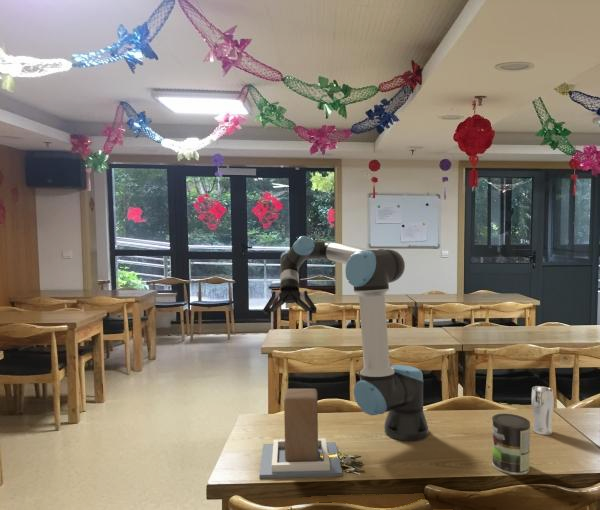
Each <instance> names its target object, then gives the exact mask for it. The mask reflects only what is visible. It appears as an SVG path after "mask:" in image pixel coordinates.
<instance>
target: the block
mask: <svg viewBox="0 0 600 510" xmlns="http://www.w3.org/2000/svg"><path fill="white" fill-rule="evenodd" d="M283 405H284V406H283V407H284V409H283V411H284V413H283V414H284V439H285V460H286V462H317V460H318V439H319V417H318V413H319V412H318V411H319V409H318V391H317V388H287V389H286V392H285V395H284V400H283Z"/></svg>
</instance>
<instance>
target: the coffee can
mask: <svg viewBox="0 0 600 510" xmlns="http://www.w3.org/2000/svg"><path fill="white" fill-rule="evenodd" d="M491 419H492V457H491V458H492V462H491V464H492V466H493V467H494V468H495V469H497V470H498V471H500V472H502V473H505V474H508V475H514V476H523V475H526V474H527V473H529V472H530V445H531V444H530V441H531V440H530V438H531V437H530V435H531V434H530V433H531V432H530V431H531V422H530V421H529V419H527V418H526V417H524V416H522V415H519V414H518V415H517V414H513V413H498V414H495V415H493V416H492V418H491Z"/></svg>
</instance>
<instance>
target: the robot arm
mask: <svg viewBox="0 0 600 510" xmlns="http://www.w3.org/2000/svg"><path fill="white" fill-rule="evenodd" d="M306 260H307V261H310V260H326V261H327V260H328V261H333V262H336V263H340V264H343V265H345V269H344V270H345V271H344V272H345V278H346V280H347V281H348V284H350V285H351V286H353V292H354V293H356V295H357V296H358V300H359V301H358V303H359V317H360V327H361V329H360V330H361V331H360V332H361V346H362V347H361V348H362V359H363V367H362V369H361V370H360V371H359V379H360V380H359V381H357V382H356V383H355V385H354V387H353V396H354V399H355V403H356V404H357V406H358V407H359V408H360V410H361V411H363V412H364V413H365V414H367V415H369V416H377V415H383V414H385V413H387V416H386V417H385V421H384V425H383V427H384V433H385V434H386V435H388V437H390V438H392V439H395V440H399V441H404V442H405V441H407V442H415V441H421V440H424V439H426V438H427V437H428V436H429V425H428V422H427V418H426V416H425V413H424V376H423V375H424V374H423V371H422V370H421V369H419V368H417V367H414V366H411V365H404V364H391V365H390V352H389V351H390V350H389V348H390V347H389V339H388V337H389V336H388V335H389V334H388V324H387V310H386V297H385V296H386V294H387V292H388V291H389V290H390V289H389V288H390V286H389V285H390V284H389V283H394V282H396V281H397V280H399V279H400V278H401V277H402V276H403V275H404V272H405V268H406V266H405V264H406V263H405V260H404V258H403V256H402V255H401V254H400V253H399V252H398V251H396V250H393V249H384V248H378V249H369V248H364V247H359V246H353V245H348V244H344V243H338V242H336V241H335V240H313V239H312V238H311V237H308V236H306V235H301V236H299V238H297V240H295V241H294V243H293V245H292V246H291V248H290V249H289V250H288V249H287V250H285V251H283V252H282V253H281V254H280V260H279V265H280V276H279V278H280V280H279V281H280V282H279V283H280V284H279V285H280V286H279V290H280V292H276V291H272V293H271V296H270V298H269V299H268V300H267V303H266V305H265V306H264V307H263V314H264V315H267V321H268V322H270V330H271V331H274V313H275V312H276V311H277V310H279V308H280V307H281V306H283V305H284V304H287V305H288V304H293V305H294V304H296V305H298V306H299V307H300V308H301V309H302V310H304V311H305V312H306V324H307V330H310V328H311V327H310V322H312V321H313V314H316V313H317V306H316V305H315V304H314V302H313V301H312V299H311V298H310V296H309V294H308V291H307V290H304V291H303V292H300V278H299V277H300V276H299V271H300V267H301V266H302V265H303V263H305V261H306ZM278 297H279V298H278ZM301 297H302V298H303V299H304V300H305V302H304V300H302V299H301ZM277 299H278V300H277ZM276 300H277V301H276ZM275 301H276V302H275Z"/></svg>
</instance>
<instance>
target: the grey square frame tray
mask: <svg viewBox="0 0 600 510" xmlns="http://www.w3.org/2000/svg"><path fill="white" fill-rule="evenodd" d="M261 453H262V454H261V459H260V468H259V479H281V478H318V477H319V478H321V477H343V469H342V465H341V460H340V457H339V458H334V459H333V458H331V459H329V456H328V453H330V454H334V453H338V454H339V450H338V446H337V443H336V441H330V442H329V441H328V442H327V440H326V438H325V437H322V438H318V460H317V462H286V460H285V438H284V439H281V438H280V439H273V443H263V445H262V452H261ZM320 454H323V459H322V458H321V457H320Z"/></svg>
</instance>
